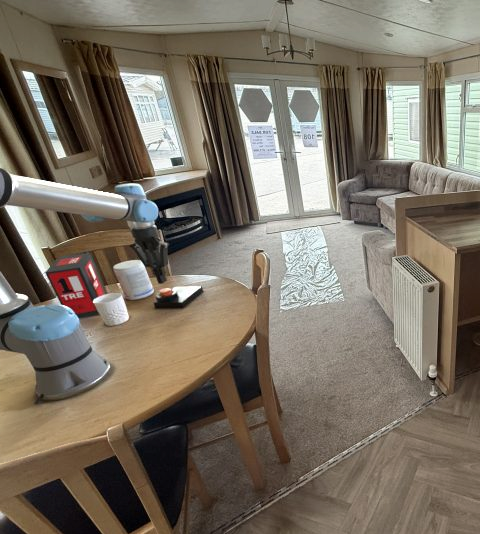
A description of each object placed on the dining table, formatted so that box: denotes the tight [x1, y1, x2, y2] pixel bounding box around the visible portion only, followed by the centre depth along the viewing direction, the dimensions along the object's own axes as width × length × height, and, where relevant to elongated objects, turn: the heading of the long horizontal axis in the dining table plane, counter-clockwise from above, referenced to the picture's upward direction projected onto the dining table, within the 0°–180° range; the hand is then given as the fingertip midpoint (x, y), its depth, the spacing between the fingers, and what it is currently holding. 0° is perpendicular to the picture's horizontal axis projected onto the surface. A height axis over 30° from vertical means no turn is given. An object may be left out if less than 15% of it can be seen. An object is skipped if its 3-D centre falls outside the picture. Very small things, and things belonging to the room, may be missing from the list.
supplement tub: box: [112, 259, 155, 301], centre depth 142 cm, size 10×10×15 cm
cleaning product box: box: [44, 252, 109, 319], centre depth 131 cm, size 16×9×20 cm, turn 33°
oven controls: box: [152, 285, 204, 309], centre depth 142 cm, size 14×11×4 cm
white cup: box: [93, 292, 130, 327], centre depth 125 cm, size 8×8×10 cm
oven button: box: [158, 287, 173, 297], centre depth 138 cm, size 4×4×2 cm
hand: (162, 282), depth 136 cm, fingers closed
